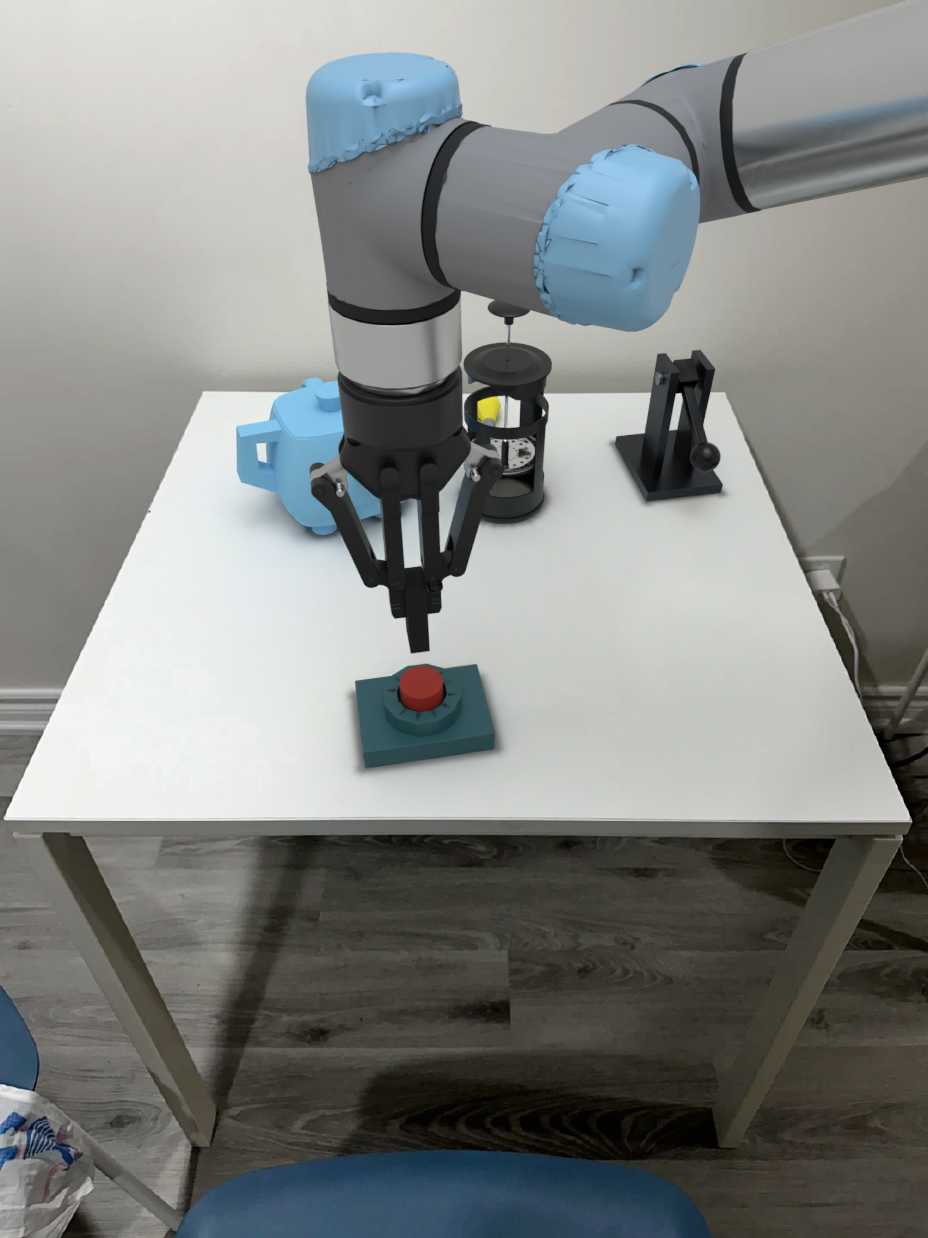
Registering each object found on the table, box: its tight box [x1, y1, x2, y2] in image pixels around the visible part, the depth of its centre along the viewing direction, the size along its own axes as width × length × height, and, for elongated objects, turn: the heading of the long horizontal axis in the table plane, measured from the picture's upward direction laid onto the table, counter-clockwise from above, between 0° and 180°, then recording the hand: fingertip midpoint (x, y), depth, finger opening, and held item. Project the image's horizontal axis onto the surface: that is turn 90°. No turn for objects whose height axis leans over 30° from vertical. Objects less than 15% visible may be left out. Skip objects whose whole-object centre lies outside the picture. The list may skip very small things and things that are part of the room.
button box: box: [354, 663, 496, 769], centre depth 73 cm, size 8×11×4 cm
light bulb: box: [478, 396, 502, 427], centre depth 108 cm, size 3×6×4 cm, turn 4°
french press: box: [462, 300, 553, 524], centre depth 90 cm, size 12×9×23 cm
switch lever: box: [672, 357, 722, 473], centre depth 92 cm, size 13×3×3 cm, turn 10°
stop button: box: [400, 666, 443, 712], centre depth 71 cm, size 4×4×2 cm
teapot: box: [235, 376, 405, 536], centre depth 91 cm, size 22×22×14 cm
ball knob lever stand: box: [614, 349, 724, 502], centre depth 97 cm, size 12×9×14 cm
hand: (417, 640), depth 67 cm, fingers closed
